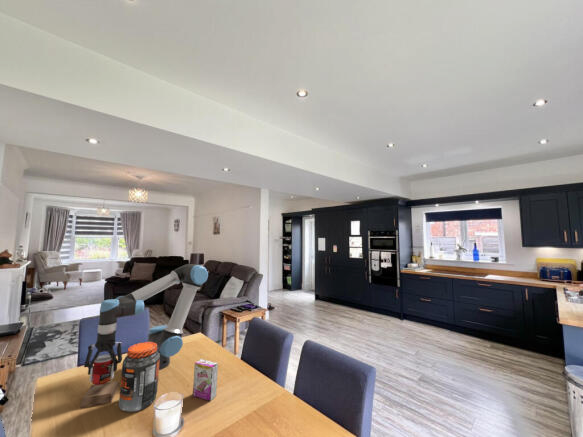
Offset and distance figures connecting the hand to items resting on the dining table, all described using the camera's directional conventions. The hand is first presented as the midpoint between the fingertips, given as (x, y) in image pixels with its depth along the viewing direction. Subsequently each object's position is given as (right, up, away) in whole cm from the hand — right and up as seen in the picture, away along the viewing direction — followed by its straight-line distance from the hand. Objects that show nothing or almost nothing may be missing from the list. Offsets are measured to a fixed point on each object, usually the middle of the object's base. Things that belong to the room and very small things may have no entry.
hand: (101, 379), depth 122 cm
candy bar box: (+50, -11, +3) cm, 51 cm away
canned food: (0, -1, 0) cm, 1 cm away
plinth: (0, -9, -1) cm, 9 cm away
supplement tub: (+20, -9, -4) cm, 22 cm away
